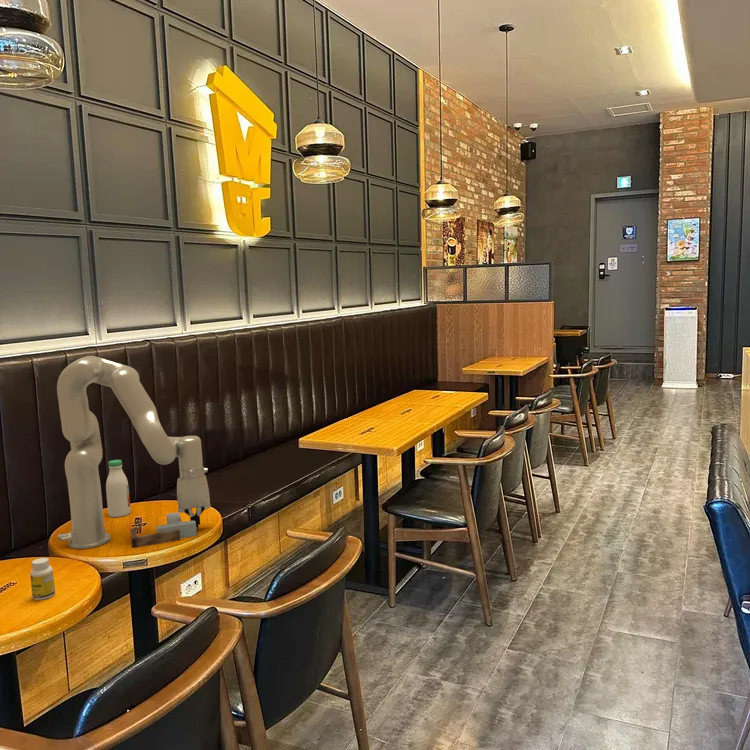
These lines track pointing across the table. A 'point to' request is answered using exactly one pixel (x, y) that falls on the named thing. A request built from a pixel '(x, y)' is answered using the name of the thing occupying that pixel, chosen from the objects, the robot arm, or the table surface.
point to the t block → (178, 526)
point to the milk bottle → (117, 490)
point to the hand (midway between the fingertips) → (195, 527)
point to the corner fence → (153, 538)
